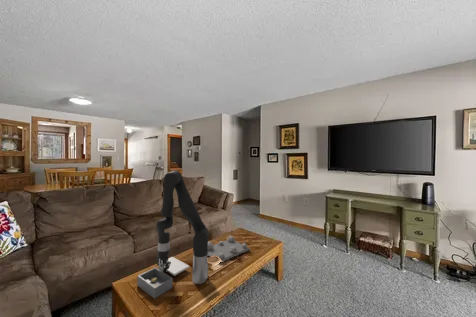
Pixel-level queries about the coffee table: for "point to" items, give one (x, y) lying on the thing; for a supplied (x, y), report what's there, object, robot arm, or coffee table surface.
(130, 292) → the coffee table surface
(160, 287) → the tub
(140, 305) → the coffee table surface
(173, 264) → the lid
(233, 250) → the grey knobbed board
